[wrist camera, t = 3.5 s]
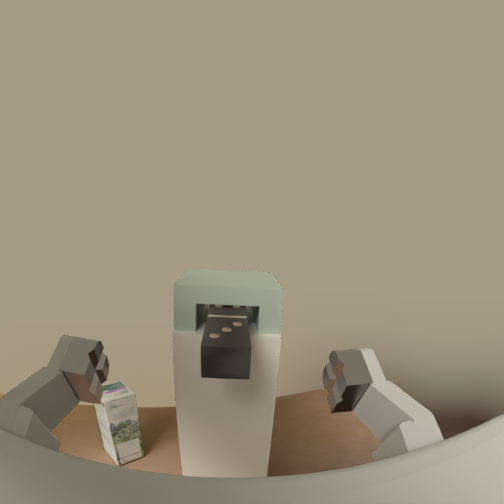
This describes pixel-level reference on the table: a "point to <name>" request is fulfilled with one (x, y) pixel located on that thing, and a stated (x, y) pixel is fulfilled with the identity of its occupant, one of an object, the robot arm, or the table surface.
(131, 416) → the syrup box
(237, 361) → the domino bar
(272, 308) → the slot stand
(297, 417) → the table surface
